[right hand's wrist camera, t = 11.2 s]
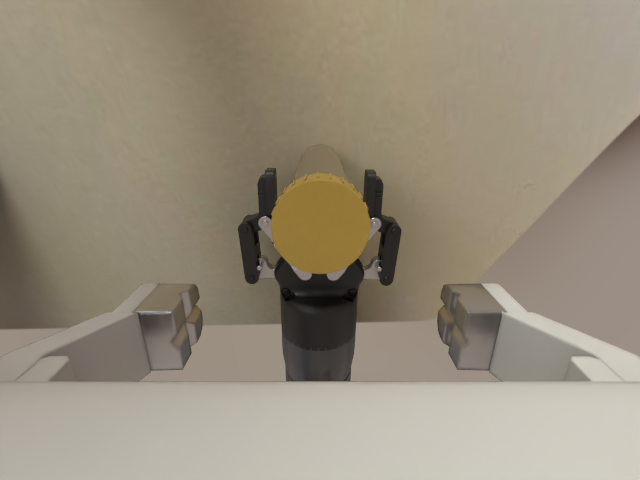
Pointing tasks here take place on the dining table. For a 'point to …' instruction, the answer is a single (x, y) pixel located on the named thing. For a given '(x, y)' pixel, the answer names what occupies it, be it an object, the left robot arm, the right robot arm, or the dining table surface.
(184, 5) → the dining table surface
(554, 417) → the right robot arm
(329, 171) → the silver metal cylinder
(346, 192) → the lid
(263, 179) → the left robot arm
